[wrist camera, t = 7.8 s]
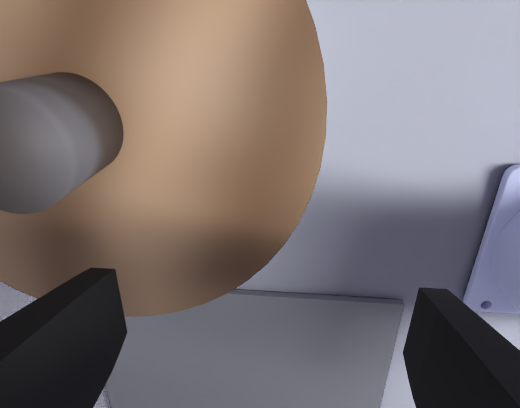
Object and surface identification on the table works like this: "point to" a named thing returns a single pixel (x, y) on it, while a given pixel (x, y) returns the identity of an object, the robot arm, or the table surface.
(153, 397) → the grey square pad
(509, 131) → the table surface
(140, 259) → the walnut lid
